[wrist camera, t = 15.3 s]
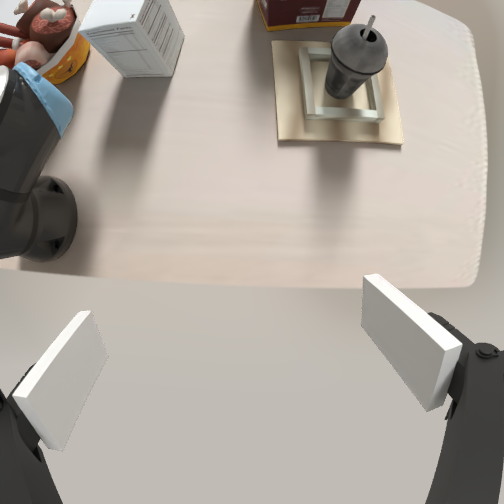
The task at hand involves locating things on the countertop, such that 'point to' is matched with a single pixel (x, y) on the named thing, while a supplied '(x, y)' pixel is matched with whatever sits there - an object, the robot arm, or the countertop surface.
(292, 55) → the cup holder
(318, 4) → the supplement box
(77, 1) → the countertop surface
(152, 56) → the supplement box
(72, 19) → the bucket of meat
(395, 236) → the countertop surface
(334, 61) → the beverage cup
